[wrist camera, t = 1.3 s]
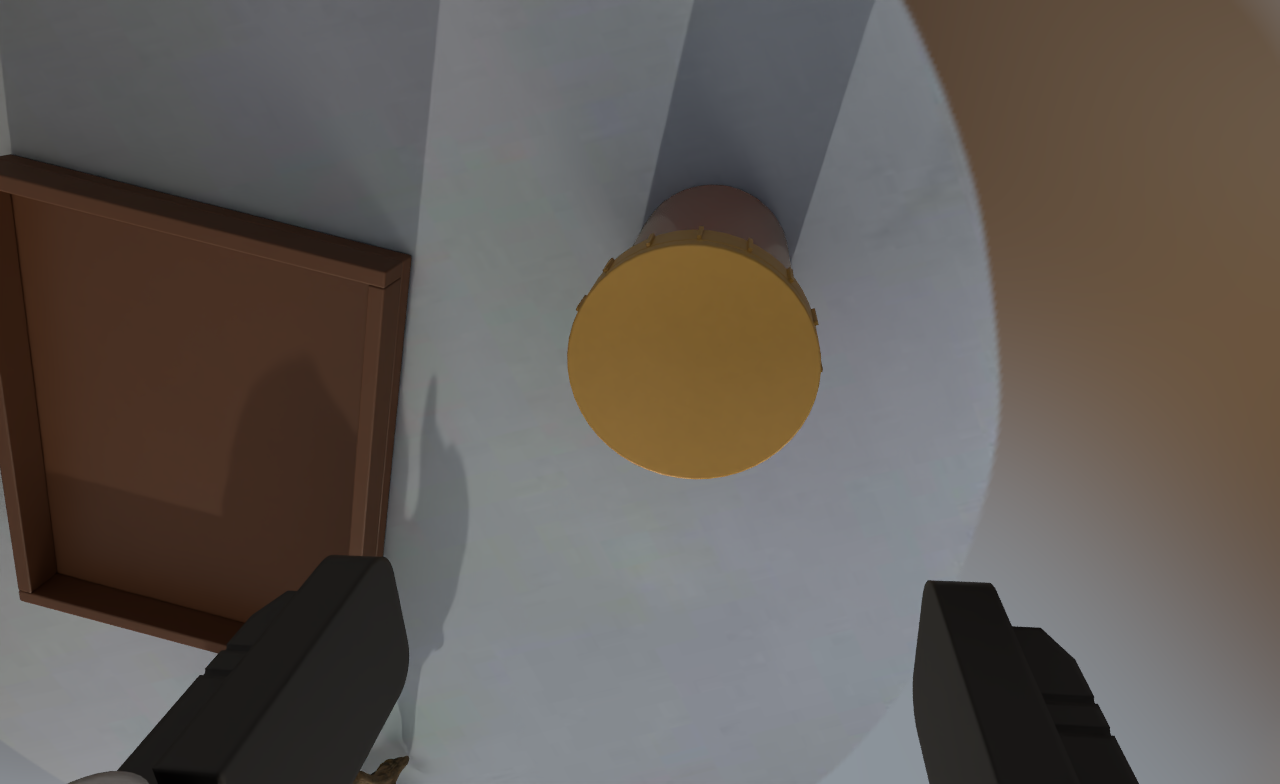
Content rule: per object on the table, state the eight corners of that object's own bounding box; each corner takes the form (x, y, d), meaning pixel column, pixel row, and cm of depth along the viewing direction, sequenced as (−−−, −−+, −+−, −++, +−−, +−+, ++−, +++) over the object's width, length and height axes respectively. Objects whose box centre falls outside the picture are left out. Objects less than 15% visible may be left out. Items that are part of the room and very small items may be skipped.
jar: (654, 167, 26) (608, 229, 18) (808, 205, 26) (834, 285, 18) (622, 313, 29) (567, 428, 20) (764, 349, 28) (768, 480, 20)
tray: (9, 153, 29) (-48, 162, 27) (412, 254, 29) (385, 272, 27) (60, 569, 37) (19, 600, 35) (374, 652, 37) (351, 690, 35)
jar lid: (602, 200, 19) (591, 213, 17) (851, 262, 19) (859, 279, 17) (559, 420, 21) (546, 447, 20) (778, 476, 21) (779, 506, 20)
